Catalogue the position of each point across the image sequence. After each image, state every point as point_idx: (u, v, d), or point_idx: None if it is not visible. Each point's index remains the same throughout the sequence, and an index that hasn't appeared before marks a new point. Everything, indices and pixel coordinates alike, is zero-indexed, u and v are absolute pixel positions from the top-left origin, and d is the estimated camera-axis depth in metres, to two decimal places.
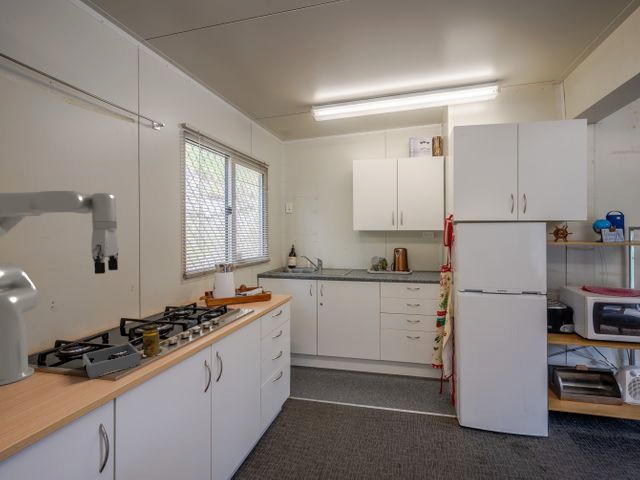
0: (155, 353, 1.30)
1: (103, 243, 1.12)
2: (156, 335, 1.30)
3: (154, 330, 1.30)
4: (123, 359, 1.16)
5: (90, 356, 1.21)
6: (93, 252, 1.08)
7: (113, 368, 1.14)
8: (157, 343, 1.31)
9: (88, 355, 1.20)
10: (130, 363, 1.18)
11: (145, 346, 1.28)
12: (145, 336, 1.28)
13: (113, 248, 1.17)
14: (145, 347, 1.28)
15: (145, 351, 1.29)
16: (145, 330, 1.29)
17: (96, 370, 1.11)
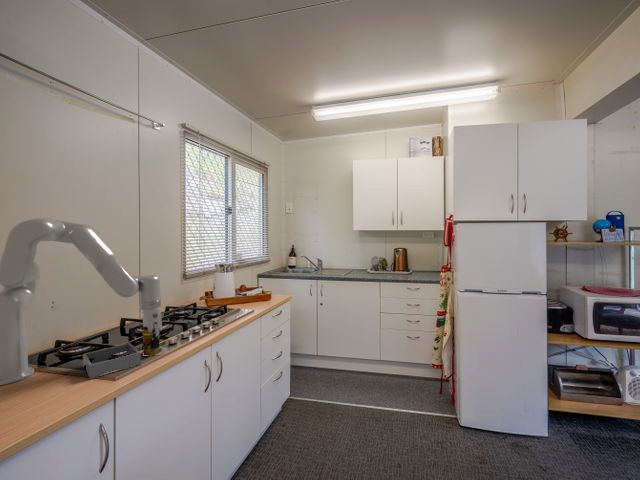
0: (155, 352, 1.30)
1: None
2: None
3: None
4: (123, 359, 1.16)
5: (90, 356, 1.21)
6: None
7: (113, 368, 1.14)
8: None
9: (88, 355, 1.20)
10: (130, 363, 1.18)
11: (145, 345, 1.29)
12: (145, 335, 1.29)
13: (146, 325, 1.30)
14: (145, 346, 1.29)
15: (145, 350, 1.29)
16: (145, 329, 1.29)
17: (96, 370, 1.11)
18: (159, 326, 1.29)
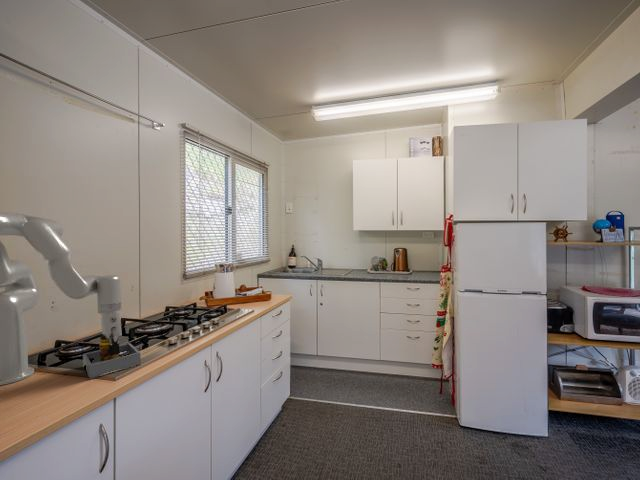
0: None
1: None
2: None
3: None
4: (123, 359, 1.16)
5: (90, 356, 1.21)
6: None
7: (113, 368, 1.14)
8: None
9: (88, 355, 1.20)
10: (130, 363, 1.18)
11: (101, 356, 1.17)
12: (101, 345, 1.17)
13: (103, 330, 1.18)
14: (102, 357, 1.17)
15: None
16: (102, 339, 1.17)
17: (96, 370, 1.11)
18: (118, 329, 1.17)
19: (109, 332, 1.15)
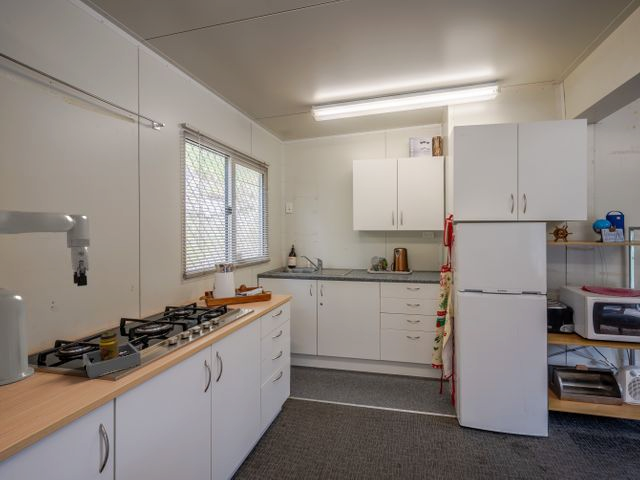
0: None
1: None
2: (114, 344, 1.19)
3: (112, 339, 1.18)
4: (123, 359, 1.16)
5: (90, 356, 1.21)
6: None
7: (113, 368, 1.14)
8: (116, 353, 1.19)
9: (88, 355, 1.20)
10: (130, 363, 1.18)
11: (102, 356, 1.17)
12: (101, 345, 1.17)
13: (72, 264, 1.28)
14: (102, 357, 1.17)
15: None
16: (102, 339, 1.17)
17: (96, 370, 1.11)
18: (85, 262, 1.28)
19: (77, 264, 1.26)
